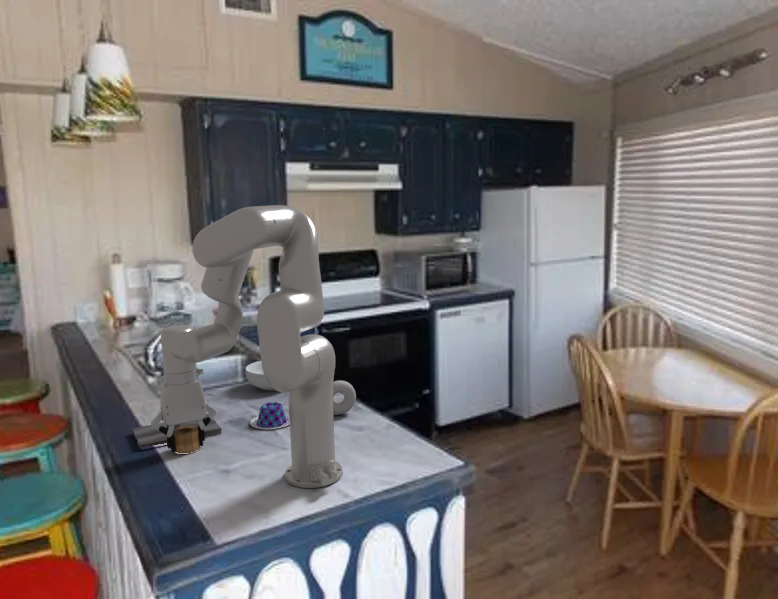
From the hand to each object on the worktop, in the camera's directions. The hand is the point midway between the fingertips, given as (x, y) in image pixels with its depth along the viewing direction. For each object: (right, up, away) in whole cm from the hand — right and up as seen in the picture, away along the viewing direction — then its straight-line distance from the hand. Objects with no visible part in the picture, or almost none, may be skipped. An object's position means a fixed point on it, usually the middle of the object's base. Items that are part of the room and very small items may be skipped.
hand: (186, 446), depth 150 cm
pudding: (+18, +2, +17) cm, 25 cm away
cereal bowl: (+12, +8, +48) cm, 50 cm away
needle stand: (-6, +1, +10) cm, 12 cm away
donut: (+36, +3, +22) cm, 42 cm away
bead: (0, -1, 0) cm, 1 cm away
